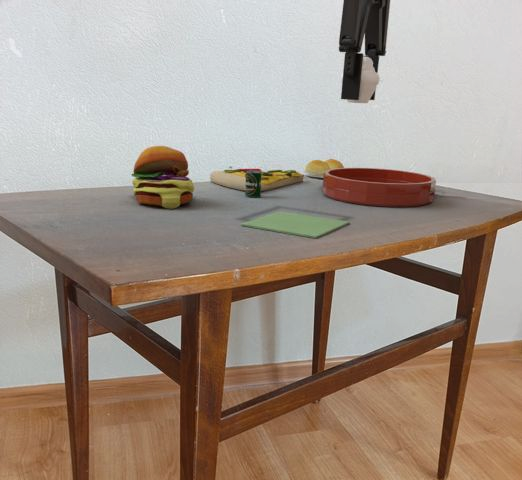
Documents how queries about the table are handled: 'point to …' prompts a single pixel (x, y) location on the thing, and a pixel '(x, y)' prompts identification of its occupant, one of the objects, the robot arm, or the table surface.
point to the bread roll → (321, 167)
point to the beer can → (253, 184)
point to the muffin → (366, 81)
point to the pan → (378, 187)
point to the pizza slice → (268, 179)
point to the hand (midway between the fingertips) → (358, 99)
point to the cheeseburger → (162, 178)
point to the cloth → (296, 224)
